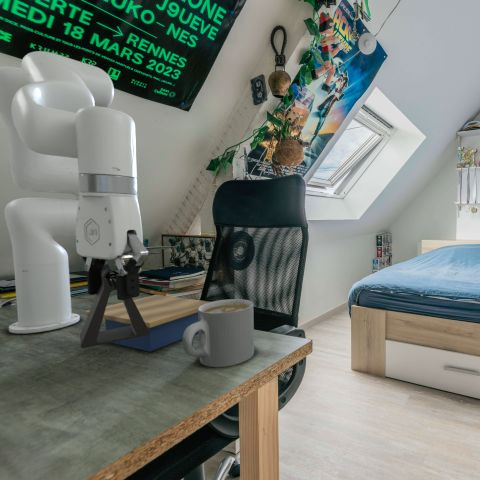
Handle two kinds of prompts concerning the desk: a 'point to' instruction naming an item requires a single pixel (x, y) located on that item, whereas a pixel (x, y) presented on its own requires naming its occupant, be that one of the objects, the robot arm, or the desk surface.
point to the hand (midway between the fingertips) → (113, 294)
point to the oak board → (154, 309)
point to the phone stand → (94, 319)
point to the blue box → (156, 333)
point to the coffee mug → (222, 333)
